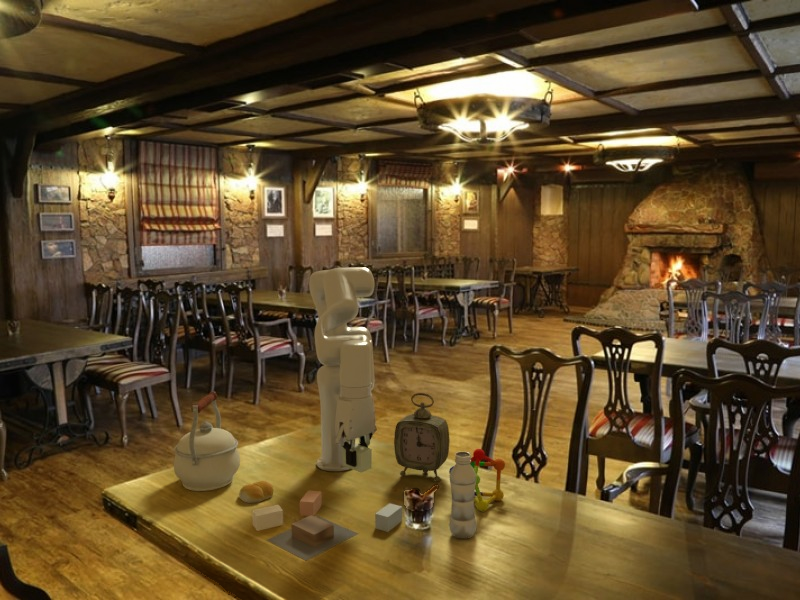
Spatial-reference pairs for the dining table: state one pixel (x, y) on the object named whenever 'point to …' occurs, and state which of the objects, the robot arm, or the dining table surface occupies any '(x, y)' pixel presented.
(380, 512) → the grey block
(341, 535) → the slate board
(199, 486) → the kettle
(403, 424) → the tabletop clock
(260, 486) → the bread roll
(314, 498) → the brick terracotta
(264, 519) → the brick cream
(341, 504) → the dining table surface
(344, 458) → the brick sage
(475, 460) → the educational toy
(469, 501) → the plastic bottle
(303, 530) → the brick walnut
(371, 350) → the robot arm
